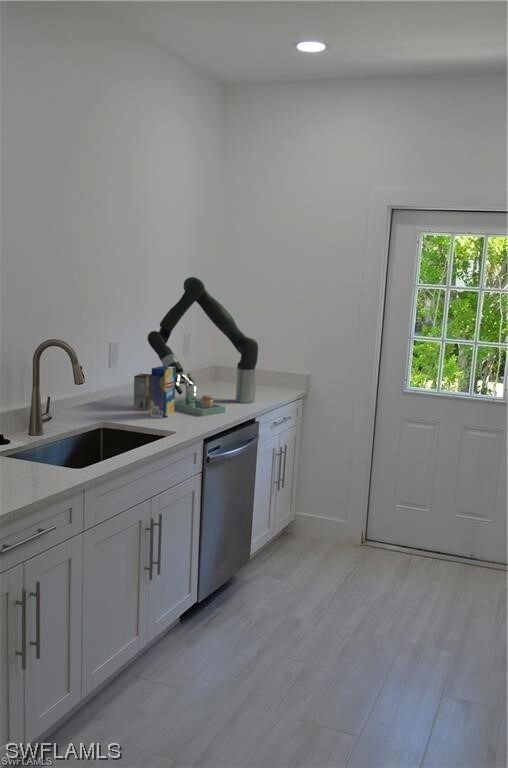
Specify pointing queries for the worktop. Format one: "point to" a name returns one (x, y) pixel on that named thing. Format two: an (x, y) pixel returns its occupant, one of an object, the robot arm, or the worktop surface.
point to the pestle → (207, 402)
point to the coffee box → (142, 391)
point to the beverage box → (162, 391)
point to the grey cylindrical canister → (191, 395)
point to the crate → (198, 408)
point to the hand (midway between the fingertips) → (187, 392)
